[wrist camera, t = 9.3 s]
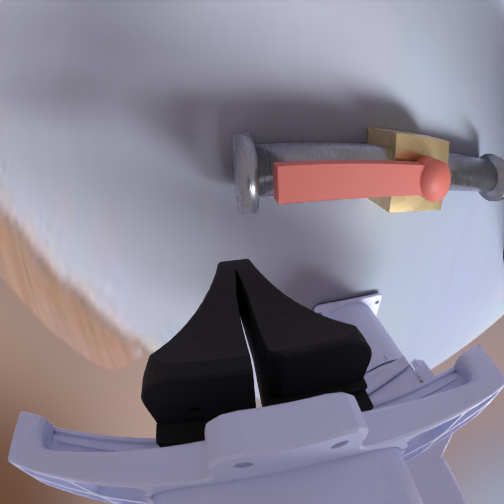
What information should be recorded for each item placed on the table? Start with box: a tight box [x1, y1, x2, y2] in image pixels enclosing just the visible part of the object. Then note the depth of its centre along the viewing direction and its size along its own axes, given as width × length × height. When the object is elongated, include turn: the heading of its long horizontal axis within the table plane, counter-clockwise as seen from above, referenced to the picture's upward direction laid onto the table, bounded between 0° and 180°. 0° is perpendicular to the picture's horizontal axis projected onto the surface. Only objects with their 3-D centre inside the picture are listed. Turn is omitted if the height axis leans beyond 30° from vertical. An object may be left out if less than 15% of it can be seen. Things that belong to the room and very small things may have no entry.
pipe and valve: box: [232, 127, 504, 214], centre depth 19 cm, size 6×28×5 cm, turn 93°
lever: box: [273, 156, 451, 204], centre depth 16 cm, size 14×3×1 cm, turn 94°
